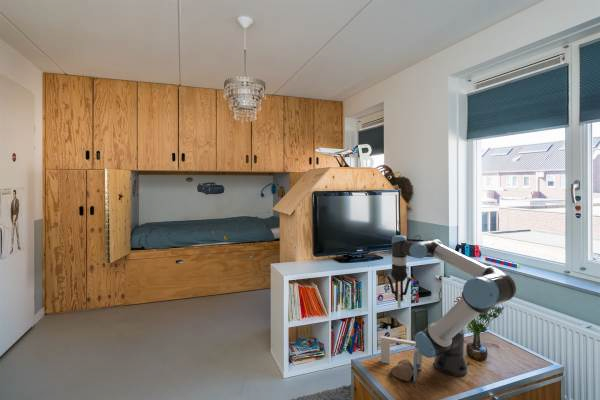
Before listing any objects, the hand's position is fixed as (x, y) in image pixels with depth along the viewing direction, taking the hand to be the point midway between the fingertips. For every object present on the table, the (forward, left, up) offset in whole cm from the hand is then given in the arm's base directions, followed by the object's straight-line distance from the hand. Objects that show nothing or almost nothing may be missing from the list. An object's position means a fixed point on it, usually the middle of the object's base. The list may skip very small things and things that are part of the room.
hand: (399, 306), depth 169 cm
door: (-10, +17, -26) cm, 33 cm away
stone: (-3, +20, -27) cm, 33 cm away
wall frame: (-1, +11, -26) cm, 28 cm away
